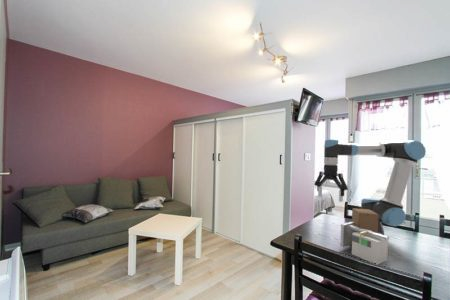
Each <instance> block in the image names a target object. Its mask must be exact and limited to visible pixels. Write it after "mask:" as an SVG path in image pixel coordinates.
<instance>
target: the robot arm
mask: <svg viewBox="0 0 450 300" xmlns="http://www.w3.org/2000/svg"><path fill="white" fill-rule="evenodd" d="M323 148H324V151H323V152H324V155H323V157H324V158H323V162H324V163H323V164H324V165H323V171H319V173H318V176H317V178H316V181H314V185H315V186H317V188H316V189H317V192H318V193H317V198H323V196H322V195H323V184H324V183H326V181H327V180H330V181H333V182H334V183H335V184H336V185H337V187H338V189H339V190H338V202H339V203H342V202H343V201H344V196H345V191H348V190H349V189H348V186H347V183H346V182H345V181H346V180H345V179H344V175H343V173H342V172H341V173H338V164H339V163H338V162H339V158H338V157H339V156H349V157H352V156H353V157H354V156H376V157H379V158H388V159H389V158H390V159H392V160H393V161H394V165H393V167H392V170H391V175H390V176H389V179H388V180H389V181H388V184H387V187H386V190H385V193H384V196H383V198H382V197H381V199H379V198H362V199H361V203H360V209H367V210H371V211H373V212H375V213H377V214H378V233H379V234H382V235H385V230H384V227H383V224H384V225H388V226H390V227H398V226H401V225H402V224H403V223H404V222H405V220H406V218H407V217H406V216H407V215H406V212H405V211H404V209H403V208H404V205H403V204H402V201H403V197H404V194H405V192H406V189H407V185H408V182H409V178H410V175H411V171H412V169H413V167H414V166H415V165H417V163H418V160H422V159H423V158H424V157H425V155H426V154H427V153H426V151H427V150H426V147H425V146H424V144H423V143H422V142H421V141H418V140H415V139H414V140H411V139H407V140H394V141H389V142H378V143H375V144H374V143H373V144H372V143H371V144H369V143H368V144H367V143H365V144H362V143H361V144H360V143H359V144H358V143H345V142H343V143H340V142H339V140H338V139H325V141H324V146H323ZM382 223H383V224H382Z"/></svg>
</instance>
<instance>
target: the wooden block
mask: <svg viewBox="0 0 450 300" xmlns="http://www.w3.org/2000/svg"><path fill="white" fill-rule="evenodd" d="M351 211H352V212H351V222H353V221H354V222H356V226H357V227H360V228H363V229H366V230H369V231H373V232H376V233H378V214H377V213H375V212H373V211H371V210H367V209H361V208H356V207H355V208H354V207H353V208H352V210H351ZM356 232H358V231H357V230H356Z"/></svg>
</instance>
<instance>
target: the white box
mask: <svg viewBox="0 0 450 300" xmlns="http://www.w3.org/2000/svg"><path fill="white" fill-rule="evenodd" d="M360 233H361V232H360V231H358V232H354V233H352V244H351V255H353V256H356V257H357V258H361V259H363V260H365V261H368V262H369V263H372V262H373V263H372V264H374V263H376V264H378V265H380V264H382V263H385V262H386V261H388V248H389V247H388V246H389V239H388V240H384V239H381V238H378V237H375V236H372V235H369V234H364V235H362V244H360ZM376 264H375V265H376Z"/></svg>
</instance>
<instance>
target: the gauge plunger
mask: <svg viewBox="0 0 450 300" xmlns="http://www.w3.org/2000/svg"><path fill="white" fill-rule="evenodd" d="M356 230H357V231H360V232H361V233H360V244H362V235H364V234H369V235H372V236H375V237H378V238H381V239H384V240H388V241H389V240H390V236H388V235H385V234H384V235H382V234H379V233H376V232H373V231H369V230H366V229H363V228H360V227H357V226H356V222H354V221H353V222H352V221H349V222H345V223H341V224H340V242H339V243H340V244H339V245H340V247H342V248H345V247H347V246H350V245H351V246H352V233H354V232H356Z"/></svg>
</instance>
